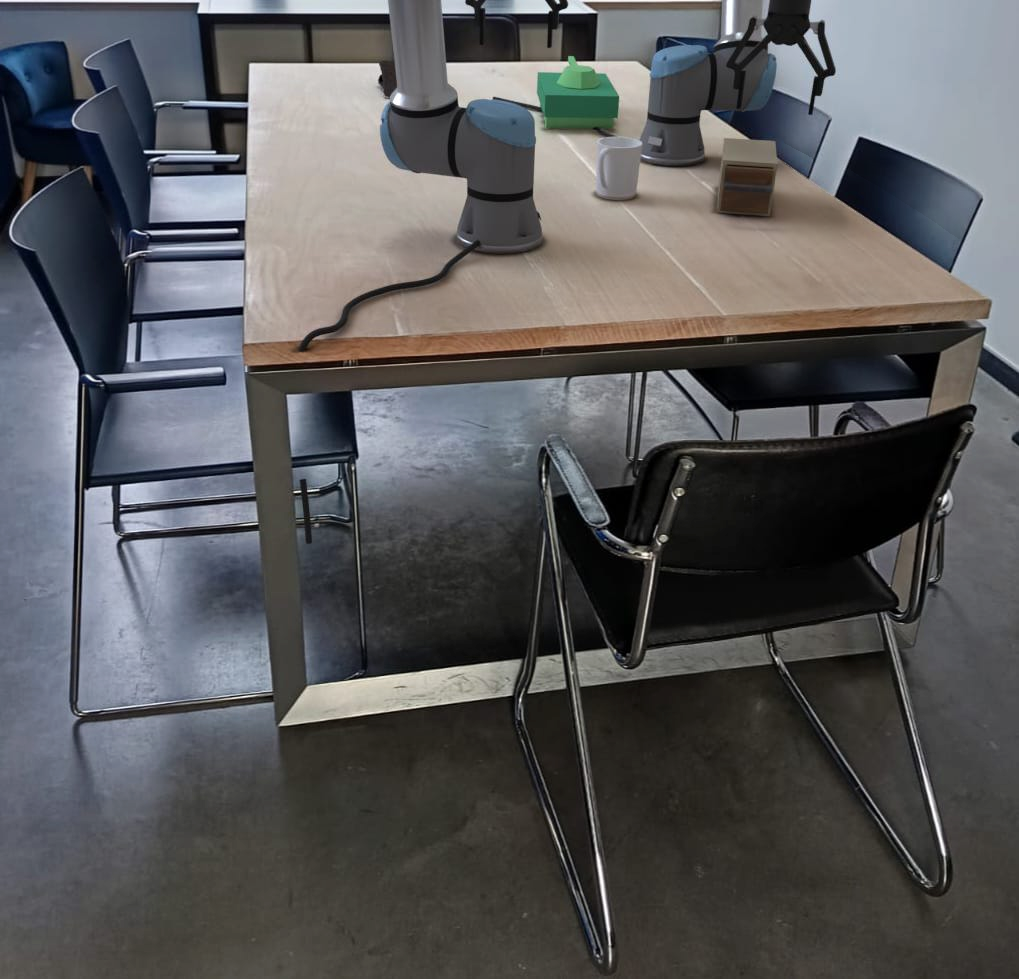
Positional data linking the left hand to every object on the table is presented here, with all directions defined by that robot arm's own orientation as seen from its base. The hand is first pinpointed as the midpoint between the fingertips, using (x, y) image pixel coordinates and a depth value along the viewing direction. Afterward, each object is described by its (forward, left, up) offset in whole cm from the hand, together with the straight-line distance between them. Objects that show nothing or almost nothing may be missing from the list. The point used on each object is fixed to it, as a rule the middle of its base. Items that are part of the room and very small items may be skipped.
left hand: (515, 45), depth 220 cm
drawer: (-16, -48, -25) cm, 56 cm away
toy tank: (+55, -9, -26) cm, 62 cm away
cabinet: (-11, -48, -26) cm, 55 cm away
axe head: (+75, +39, -26) cm, 89 cm away
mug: (-13, -22, -26) cm, 36 cm away
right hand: (-9, -52, -8) cm, 53 cm away
